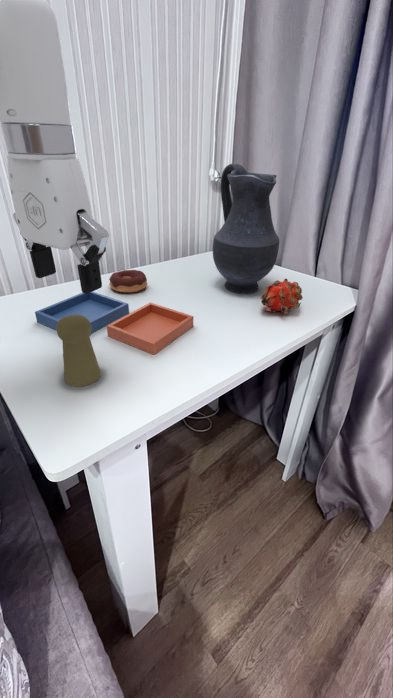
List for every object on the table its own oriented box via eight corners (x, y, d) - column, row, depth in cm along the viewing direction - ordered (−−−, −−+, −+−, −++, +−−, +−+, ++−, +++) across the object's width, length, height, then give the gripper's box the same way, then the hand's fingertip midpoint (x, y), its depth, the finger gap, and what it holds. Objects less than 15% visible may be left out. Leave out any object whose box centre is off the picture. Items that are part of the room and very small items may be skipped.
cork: (56, 380, 55) (42, 322, 49) (79, 362, 60) (69, 307, 54) (86, 390, 54) (75, 331, 48) (108, 370, 58) (100, 314, 52)
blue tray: (78, 340, 66) (76, 329, 65) (37, 322, 72) (34, 311, 71) (129, 313, 77) (128, 303, 76) (89, 299, 83) (88, 289, 81)
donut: (102, 291, 87) (100, 276, 85) (120, 278, 95) (119, 265, 93) (137, 297, 85) (136, 282, 83) (152, 283, 93) (152, 270, 91)
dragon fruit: (299, 312, 85) (262, 328, 80) (282, 285, 87) (245, 299, 82) (318, 295, 77) (278, 312, 73) (298, 266, 79) (259, 281, 75)
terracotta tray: (153, 355, 63) (153, 344, 62) (107, 336, 68) (106, 325, 67) (193, 326, 73) (193, 316, 72) (150, 311, 78) (150, 302, 77)
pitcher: (233, 304, 83) (248, 170, 67) (192, 277, 98) (196, 162, 82) (284, 293, 91) (308, 169, 75) (239, 269, 106) (251, 162, 90)
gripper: (-33, 141, 40) (8, 277, 49) (65, 147, 32) (91, 307, 41) (24, 141, 45) (51, 264, 54) (119, 146, 38) (131, 288, 47)
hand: (68, 282), depth 48 cm, fingers open, 9 cm apart
